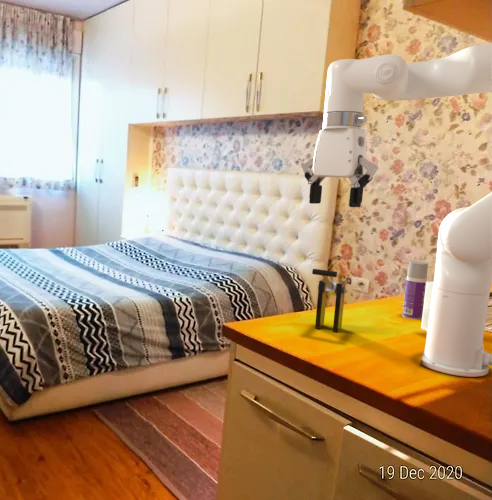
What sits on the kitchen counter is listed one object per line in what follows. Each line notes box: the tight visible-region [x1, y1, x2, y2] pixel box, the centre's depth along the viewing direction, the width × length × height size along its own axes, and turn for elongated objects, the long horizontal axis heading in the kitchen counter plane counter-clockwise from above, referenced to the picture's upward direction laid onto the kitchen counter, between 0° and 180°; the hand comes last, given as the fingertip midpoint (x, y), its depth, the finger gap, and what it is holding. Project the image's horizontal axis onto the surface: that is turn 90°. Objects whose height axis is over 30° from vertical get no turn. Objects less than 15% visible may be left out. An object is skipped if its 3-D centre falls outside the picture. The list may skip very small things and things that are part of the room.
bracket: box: [314, 277, 347, 334], centre depth 119 cm, size 10×8×13 cm
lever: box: [311, 268, 338, 297], centre depth 114 cm, size 12×5×2 cm, turn 147°
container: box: [401, 260, 429, 321], centre depth 136 cm, size 5×5×15 cm
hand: (334, 205), depth 109 cm, fingers open, 9 cm apart
